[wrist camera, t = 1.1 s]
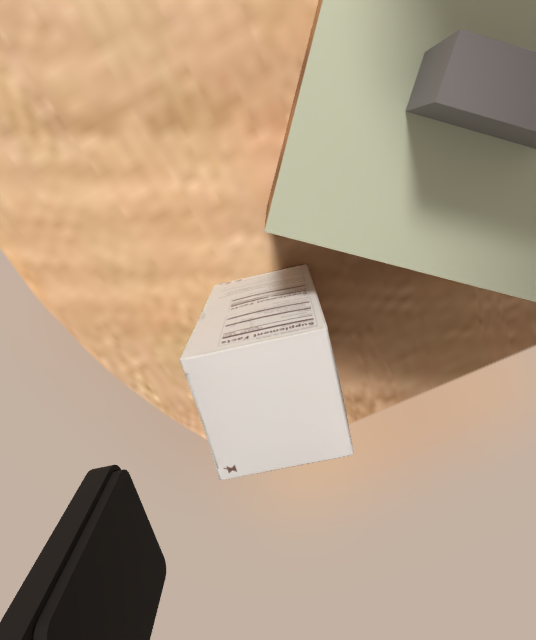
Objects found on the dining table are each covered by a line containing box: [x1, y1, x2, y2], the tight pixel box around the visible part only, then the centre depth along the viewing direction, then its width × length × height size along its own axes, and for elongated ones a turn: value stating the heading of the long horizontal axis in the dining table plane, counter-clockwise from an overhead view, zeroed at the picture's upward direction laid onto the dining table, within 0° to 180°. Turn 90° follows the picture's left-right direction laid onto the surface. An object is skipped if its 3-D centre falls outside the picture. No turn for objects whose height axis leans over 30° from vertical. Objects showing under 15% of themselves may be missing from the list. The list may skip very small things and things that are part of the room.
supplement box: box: [180, 264, 354, 480], centre depth 36 cm, size 10×9×17 cm
